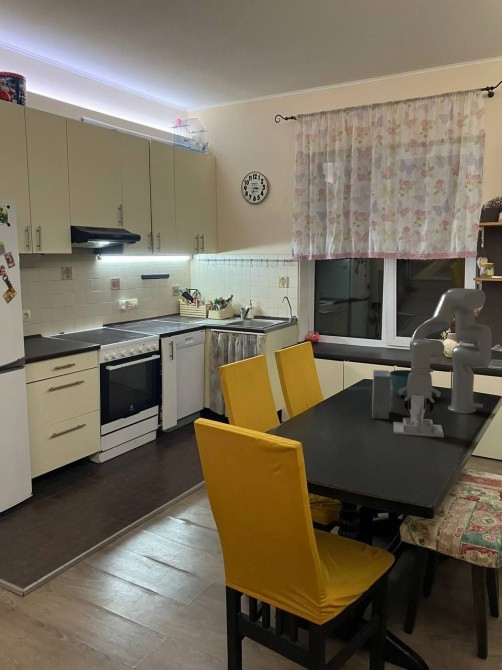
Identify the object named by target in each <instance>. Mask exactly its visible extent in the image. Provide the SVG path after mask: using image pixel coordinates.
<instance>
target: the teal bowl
mask: <svg viewBox="0 0 502 670" xmlns="http://www.w3.org/2000/svg"><path fill="white" fill-rule="evenodd" d="M389 372H390V376H391V380H390V385H391V386H392V388H393V390H394V391H395V393H396V394H397V395H398V397H400V398H402V397H401V396H400V394H399V392H398V390H399V389H401V388H404V387H406V386H407V382H408V376H409V373H411V369H398V370H392V371H389ZM402 393H403V395H404V396H406V395H407V390H405V391H403V392H402Z"/></svg>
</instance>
